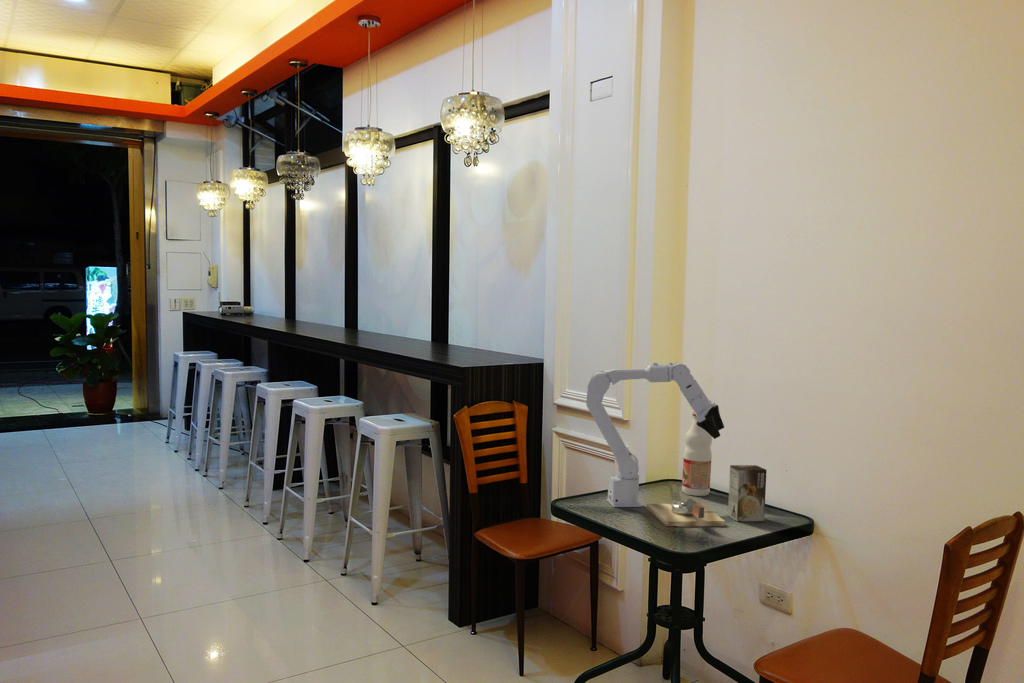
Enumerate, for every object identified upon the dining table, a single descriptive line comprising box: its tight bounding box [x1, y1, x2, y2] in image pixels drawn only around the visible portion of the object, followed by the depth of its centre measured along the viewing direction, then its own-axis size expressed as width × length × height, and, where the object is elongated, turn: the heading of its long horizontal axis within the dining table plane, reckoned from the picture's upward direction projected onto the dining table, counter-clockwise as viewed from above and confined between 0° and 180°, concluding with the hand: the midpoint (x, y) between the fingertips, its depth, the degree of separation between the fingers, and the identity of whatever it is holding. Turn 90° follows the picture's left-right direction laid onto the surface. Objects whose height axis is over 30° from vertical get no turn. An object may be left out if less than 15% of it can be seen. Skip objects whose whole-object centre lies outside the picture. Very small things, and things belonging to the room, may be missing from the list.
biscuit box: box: [727, 464, 767, 522], centre depth 222 cm, size 9×6×16 cm
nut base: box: [646, 503, 726, 527], centre depth 222 cm, size 20×18×2 cm
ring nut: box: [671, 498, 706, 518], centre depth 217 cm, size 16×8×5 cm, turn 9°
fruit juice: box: [681, 411, 713, 497], centre depth 250 cm, size 9×9×28 cm
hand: (719, 433), depth 228 cm, fingers open, 7 cm apart
